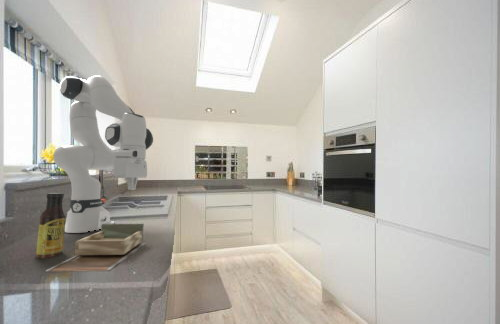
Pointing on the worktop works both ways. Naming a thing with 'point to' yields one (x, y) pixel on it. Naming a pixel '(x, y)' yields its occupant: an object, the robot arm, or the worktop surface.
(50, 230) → the sauce bottle
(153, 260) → the worktop surface
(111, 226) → the shallow wooden tray
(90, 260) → the flat board
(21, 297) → the worktop surface
